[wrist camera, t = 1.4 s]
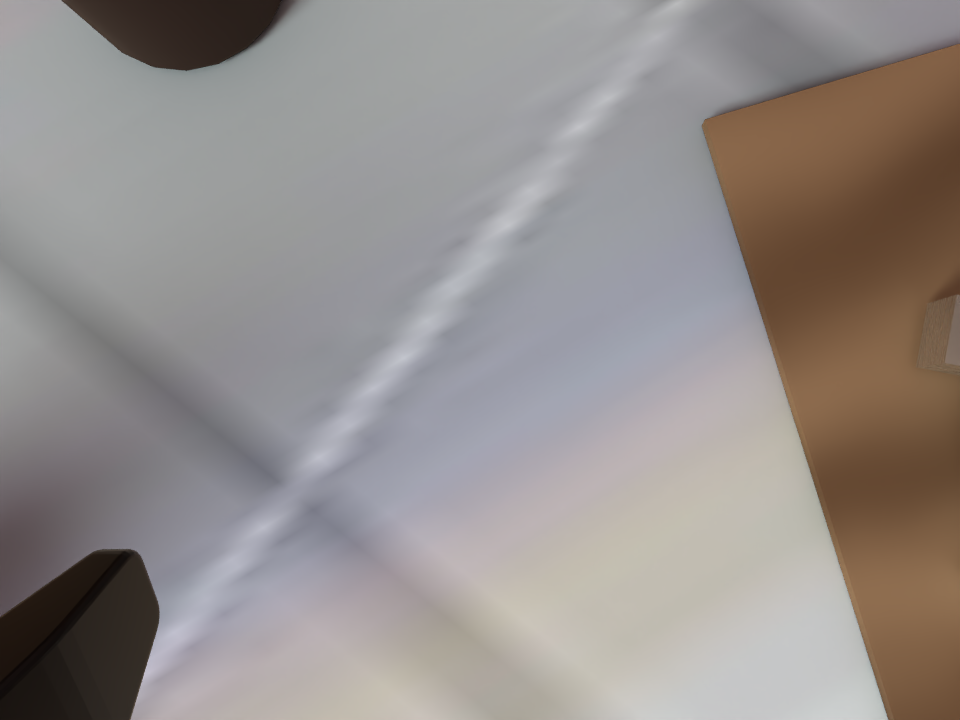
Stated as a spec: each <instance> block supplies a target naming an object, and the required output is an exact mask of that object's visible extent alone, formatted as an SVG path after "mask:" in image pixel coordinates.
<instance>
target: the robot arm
mask: <svg viewBox="0 0 960 720" xmlns="http://www.w3.org/2000/svg"><path fill="white" fill-rule="evenodd" d="M158 624H159V604H158V601H157V598H156V595H155V592H154V590H153V587H152V584H151V581H150V579H149V576H148V573H147V571H146V568H145V565H144V562H143V560H142V558H141V556H140V555H139V554H138V553H137V552H136V551H134V550H131V549H102V550H97V551H94V552H92V553H91V554H89V555H88V556H86V557H85V558H83V559H82V560H81V561H79V562H78V563H76V564H75V565H73V566H72V567H71V568H69V569H68V570H66V571H65V572H63V573H62V574H61V575H59V576H58V577H56V578H55V579H53V580H52V581H51V582H49V583H48V584H46V585H45V586H43V587H42V588H41V589H39V590H38V591H36V592H35V593H34V594H32V595H31V596H29V597H28V598H26V599H25V600H24V601H22V602H21V603H19V604H18V605H16V606H15V607H14V608H12V609H11V610H9V611H8V612H6V613H5V614H4V615H2V616H1V617H0V720H130V719H131V716H132V713H133V709H134V706H135V702H136V699H137V696H138V692H139V689H140V686H141V682H142V679H143V676H144V672H145V669H146V666H147V662H148V659H149V655H150V652H151V649H152V645H153V642H154V639H155V635H156V632H157V628H158Z"/></svg>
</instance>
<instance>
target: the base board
mask: <svg viewBox="0 0 960 720" xmlns="http://www.w3.org/2000/svg"><path fill="white" fill-rule="evenodd" d="M702 128H703V131H704V134H705V138H706V141H707V144H708V147H709V150H710V153H711V157H712V160H713V163H714V166H715V169H716V172H717V176H718V179H719V182H720V185H721V188H722V192H723V195H724V198H725V201H726V204H727V207H728V211H729V214H730V217H731V220H732V223H733V227H734V230H735V233H736V236H737V239H738V242H739V246H740V249H741V252H742V255H743V258H744V262H745V265H746V268H747V271H748V274H749V277H750V281H751V284H752V287H753V290H754V293H755V297H756V300H757V303H758V306H759V309H760V312H761V316H762V319H763V322H764V325H765V328H766V332H767V335H768V338H769V341H770V344H771V347H772V351H773V354H774V357H775V360H776V363H777V367H778V370H779V373H780V376H781V379H782V382H783V386H784V389H785V392H786V395H787V398H788V402H789V405H790V408H791V411H792V414H793V417H794V421H795V424H796V427H797V430H798V433H799V437H800V440H801V443H802V446H803V449H804V452H805V456H806V459H807V462H808V465H809V468H810V472H811V475H812V478H813V481H814V484H815V487H816V491H817V494H818V497H819V500H820V503H821V507H822V510H823V513H824V516H825V519H826V522H827V526H828V529H829V532H830V535H831V538H832V542H833V545H834V548H835V551H836V554H837V557H838V561H839V564H840V567H841V570H842V573H843V577H844V580H845V583H846V586H847V589H848V592H849V596H850V599H851V602H852V605H853V608H854V612H855V615H856V618H857V621H858V624H859V627H860V631H861V634H862V637H863V640H864V643H865V647H866V650H867V653H868V656H869V659H870V662H871V666H872V669H873V672H874V675H875V678H876V682H877V685H878V688H879V691H880V694H881V697H882V701H883V704H884V707H885V710H886V713H887V717H888V720H960V376H959V375H954V374H949V373H943V372H938V371H933V370H928V369H923V368H918V367H916V364H917V359H918V353H919V348H920V342H921V336H922V331H923V325H924V320H925V314H926V309H927V304H928V303H931V302H934V301H937V300H941V299H944V298H947V297H950V296H954V295H960V44H957V45H954V46H950V47H947V48H944V49H940V50H937V51H934V52H930V53H927V54H923V55H920V56H917V57H913V58H910V59H907V60H903V61H900V62H897V63H893V64H890V65H886V66H883V67H880V68H876V69H873V70H870V71H866V72H863V73H860V74H856V75H853V76H850V77H846V78H843V79H839V80H836V81H833V82H829V83H826V84H823V85H819V86H816V87H813V88H809V89H806V90H803V91H799V92H796V93H792V94H789V95H786V96H782V97H779V98H776V99H772V100H769V101H766V102H762V103H759V104H756V105H752V106H749V107H745V108H742V109H739V110H735V111H732V112H729V113H725V114H722V115H719V116H715V117H712V118H709V119H705V121H704V123H703V125H702Z"/></svg>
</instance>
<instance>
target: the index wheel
mask: <svg viewBox="0 0 960 720" xmlns="http://www.w3.org/2000/svg"><path fill="white" fill-rule="evenodd" d="M916 367H918V368H923V369H928V370H933V371H938V372H943V373H949V374H954V375H959V376H960V295H954V296H950V297H947V298H944V299H941V300H937V301H934V302H931V303H928V304H927V309H926V314H925V320H924V325H923V331H922V336H921V342H920V348H919V353H918V359H917V364H916Z"/></svg>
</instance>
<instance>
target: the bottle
mask: <svg viewBox="0 0 960 720" xmlns="http://www.w3.org/2000/svg"><path fill="white" fill-rule="evenodd" d="M62 1H63V2H64V3H65V4H66V5H67V6H69V7H70V8H71V9H72V10H73V11H74V12H76V13H77V14H78V15H79V16H80V17H81V18H82V19H84V20H85V21H86V22H87V23H88V24H89V25H91V26H92V27H93V28H94V29H95V30H96V31H98V32H99V33H100V34H101V35H102V36H103V37H105V38H106V39H107V40H108V41H109V42H110V43H112V44H113V45H114V46H115V47H116V48H117V49H118V50H120V51H121V52H122V53H124V54H126V55H128V56H130V57H133V58H135V59H137V60H139V61H141V62H143V63H146V64H148V65H150V66H153V67H157V68H166V69H176V70H185V71H187V70H192V69H197V68H201V67H206V66H211V65H215V64H219V63H221V62H222V61H224V60H226V59H228V58H230V57H231V56H233V55H235V54H237V53H238V52H240V51H242V50H244V49H246V48H247V47H248V46H249V45H250V44H251V43H252V42H253V41H254V40H255V39H256V38H257V37H258V36H259V35H260V34H261V33H262V32H263V30H264V29H265V28H266V27H267V26H268V25H269V24H270V23H271V21H272V19H273V17H274V15H275V13H276V11H277V9H278V7H279V5H280V3H281V1H282V0H62Z"/></svg>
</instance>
